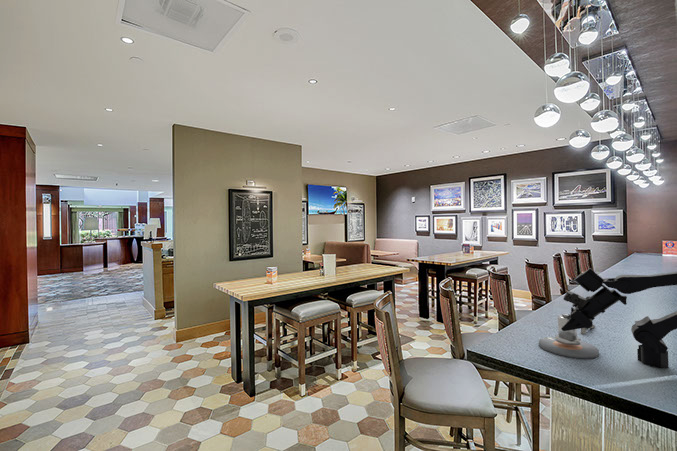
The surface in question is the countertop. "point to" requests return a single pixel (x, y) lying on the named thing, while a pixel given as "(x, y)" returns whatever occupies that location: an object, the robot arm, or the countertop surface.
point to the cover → (566, 332)
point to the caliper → (583, 330)
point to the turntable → (569, 348)
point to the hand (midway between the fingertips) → (562, 327)
